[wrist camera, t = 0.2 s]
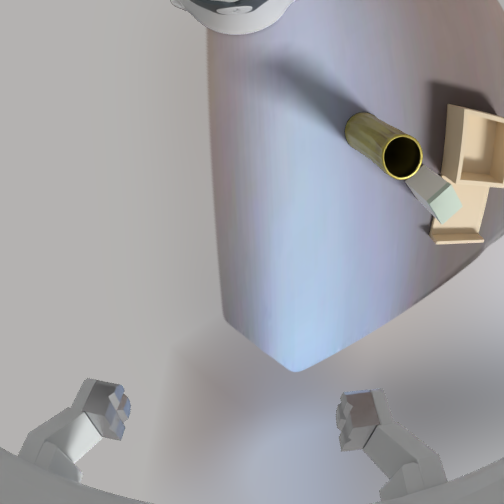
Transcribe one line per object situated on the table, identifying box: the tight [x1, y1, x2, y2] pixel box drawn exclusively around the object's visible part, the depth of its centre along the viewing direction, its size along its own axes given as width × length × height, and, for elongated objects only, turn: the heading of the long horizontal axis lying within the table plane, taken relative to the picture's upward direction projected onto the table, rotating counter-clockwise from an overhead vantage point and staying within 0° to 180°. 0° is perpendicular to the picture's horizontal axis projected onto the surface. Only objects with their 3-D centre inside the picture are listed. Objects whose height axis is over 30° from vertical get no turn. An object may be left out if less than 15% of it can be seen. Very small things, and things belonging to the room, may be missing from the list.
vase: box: [345, 112, 423, 180], centre depth 35 cm, size 6×6×14 cm
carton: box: [405, 165, 463, 225], centre depth 41 cm, size 4×4×9 cm
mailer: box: [429, 104, 504, 244], centre depth 41 cm, size 24×12×5 cm, turn 4°
